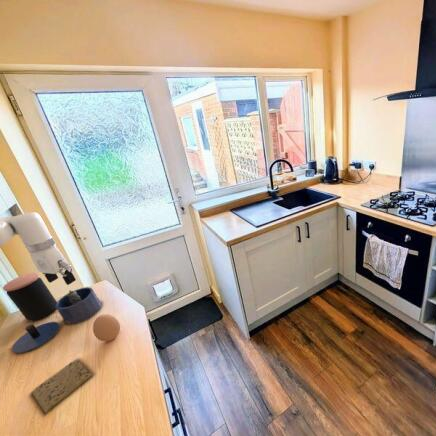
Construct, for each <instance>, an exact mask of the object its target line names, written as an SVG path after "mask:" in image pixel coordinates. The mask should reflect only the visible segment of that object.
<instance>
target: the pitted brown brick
mask: <svg viewBox="0 0 436 436" xmlns="http://www.w3.org/2000/svg"><path fill="white" fill-rule="evenodd" d="M91 377H92V373H91V372H90V371H88V370H87V369H86V368H85V366H83V364H81V363H80V361H79V360H78V359H75V360H73V361H71V362H70V363H68V364H67V365H65V366H64V367H63V368H62V369H61V370H59V371H58V372H56V374H54V375H53V376H51V377H49V378H48V379H47V380H45V381H44V382H42V383H41V384H39V385H38V386H37V387H36V388H35V389H34V390H32V391H31V394H32V396H33V397H34V399H35V400H36V402H37V404H38V405H39V407H40V408H41V410H42V411H43V413H45V414H46V413H48V412H49V411H50V410H51V409H52V408H54V407H55V406H56V405H57V404H58V403H59V402H61V401H62V400H64V399H65V398H66V397H67V396H69V395H70V394H71V393H72V392H74V391H75V390H76V389H77V388H78V387H79V386H81V385H82V384H83V383H84V382H86V381H87V380H89V379H91Z"/></svg>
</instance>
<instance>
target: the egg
mask: <svg viewBox="0 0 436 436" xmlns="http://www.w3.org/2000/svg"><path fill="white" fill-rule="evenodd" d="M92 324H93V325H92V332H93V335H94V337H95V339H97V340H99V341H101V342H109V341H113V340H114V339H116V337H117V336H119V334H120V331H121V324H120V321H119V320H118V319H117V318H116V317H115V316H113V315H111V314H108V313H107V314H105V313H103V314H100V315H99V316H97V317H95V319H94V321H93V323H92Z"/></svg>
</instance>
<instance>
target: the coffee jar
mask: <svg viewBox="0 0 436 436" xmlns="http://www.w3.org/2000/svg"><path fill="white" fill-rule="evenodd" d="M2 289H3V290H4V291H5V292H6V295H7V297H9V299H10V300H11V301H12V303H13V304H14V305H15V307H16V308H17V309H18V310H19V312H20V313H21V314H22V315H23V317H24V319H26V320H27V321H29V322H37V321H40V320H43V319H46V318H47V317H49V316H51V315H52V314H53V313H54V312H56V311H57V309H56V307H55V305H56V303H57V302H58V300H56V298H55V297H54V295H53V294H52V293H51V291H50V289H49V288H48V286H47V285H46V283H45V282H44V280H43V279H42V277H40V276H39V273H38V272H29V273H26V274H22V275H21V276H17V277H15V278H14V279H11V280H10V281H8V282H7V283H6V284H4V285H3V286H2Z"/></svg>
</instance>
